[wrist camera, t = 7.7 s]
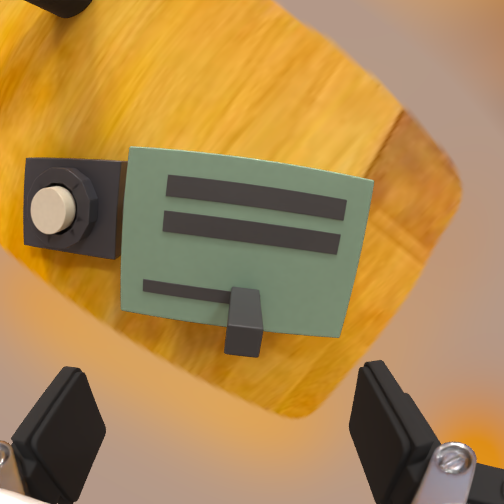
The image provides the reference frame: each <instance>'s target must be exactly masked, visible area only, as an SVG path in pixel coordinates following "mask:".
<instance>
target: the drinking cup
mask: <svg viewBox="0 0 504 504" xmlns="http://www.w3.org/2000/svg"><path fill="white" fill-rule="evenodd" d="M25 1H27V2H29V3H31V4H34V5H36V6H38V7H40V8H42V9H44V10H46V11H48V12H51V13H53V14H55V15H57V16H59V17H61V18H69V17H72V16H75V15H77V14H78V13H80V12H81V11H83V10H84V9H85V8H86V7H87V6H88V5H89V4H90V2H91V1H92V0H25Z"/></svg>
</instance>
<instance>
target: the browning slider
mask: <svg viewBox="0 0 504 504" xmlns="http://www.w3.org/2000/svg"><path fill="white" fill-rule="evenodd" d="M263 330H264V329H263V320H262V311H261V302H260V293H259V290H257V289H249V288H241V287H232V288H231V295H230V303H229V311H228V320H227V330H226V339H225V348H224V353H225V354H229V355H238V356H247V357H256V358H257V357H258V356H259V352H260V346H261V341H262V335H263Z"/></svg>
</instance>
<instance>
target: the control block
mask: <svg viewBox="0 0 504 504" xmlns="http://www.w3.org/2000/svg"><path fill="white" fill-rule="evenodd" d="M127 165H128V161H115V160H98V159H75V158H26V166H25V180H24V211H23V225H24V245H29V246H34V247H40V248H46V249H52V250H58V251H64V252H70V253H76V254H82V255H88V256H94V257H101V258H107V259H114V260H115V259H116V258H118V257H119V256H120V255H121V245H122V225H123V200H124V190H125V185H126V175H127ZM54 186H61V187H64V188H66V189H67V190H68V191H70V193H71V194H72V196H73V198H74V200H75V204H76V214H75V218H74V220H73V222H72V224H71V225H70V226H69V227H68V228H66V229H64V230H61V231H59V232H56V233H54V234H45V233H43V232H41V231H40V230H38V229H37V227H36V226H35V224H34V223H33V220H32V217H31V203H32V200H33V198H34V196H35V195H36V193H37V192H38V191H39V190H41V189H43V188H48V187H54Z"/></svg>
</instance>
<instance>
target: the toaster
mask: <svg viewBox="0 0 504 504" xmlns="http://www.w3.org/2000/svg"><path fill="white" fill-rule="evenodd" d="M373 186H374V181H373V180H369V179H365V178H360V177H355V176H351V175H346V174H341V173H336V172H331V171H325V170H320V169H315V168H309V167H303V166H298V165H292V164H285V163H279V162H273V161H266V160H259V159H252V158H245V157H238V156H230V155H222V154H213V153H204V152H195V151H184V150H174V149H162V148H148V147H133V146H131V147H130V148H129V157H128V165H127V175H126V185H125V190H124V200H123V225H122V245H121V310H122V311H128V312H133V313H139V314H144V315H150V316H156V317H162V318H168V319H175V320H181V321H188V322H194V323H201V324H209V325H216V326H223V327H227V320H228V311H229V303H230V295H231V288H232V287H241V288H249V289H257V290H259V293H260V302H261V311H262V320H263V329H264V330H263V331H266V332H275V333H286V334H296V335H308V336H321V337H334V338H339V337H340V333H341V330H342V326H343V323H344V319H345V315H346V312H347V308H348V304H349V300H350V296H351V292H352V288H353V284H354V280H355V276H356V271H357V267H358V263H359V258H360V254H361V249H362V244H363V240H364V235H365V230H366V225H367V219H368V214H369V209H370V203H371V198H372V192H373Z"/></svg>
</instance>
